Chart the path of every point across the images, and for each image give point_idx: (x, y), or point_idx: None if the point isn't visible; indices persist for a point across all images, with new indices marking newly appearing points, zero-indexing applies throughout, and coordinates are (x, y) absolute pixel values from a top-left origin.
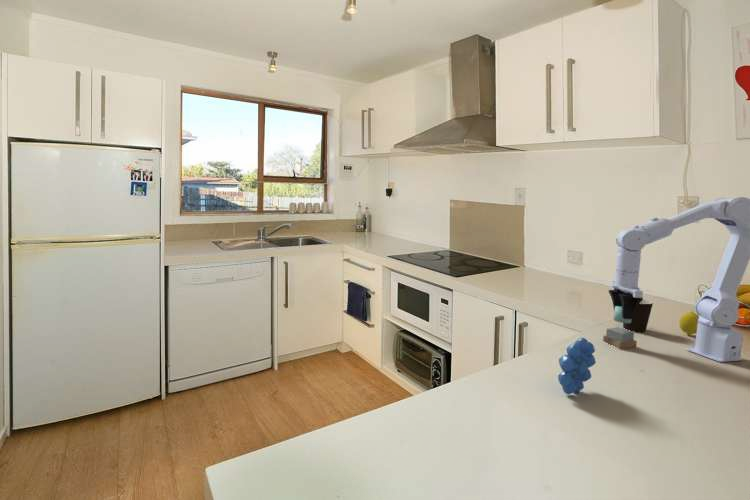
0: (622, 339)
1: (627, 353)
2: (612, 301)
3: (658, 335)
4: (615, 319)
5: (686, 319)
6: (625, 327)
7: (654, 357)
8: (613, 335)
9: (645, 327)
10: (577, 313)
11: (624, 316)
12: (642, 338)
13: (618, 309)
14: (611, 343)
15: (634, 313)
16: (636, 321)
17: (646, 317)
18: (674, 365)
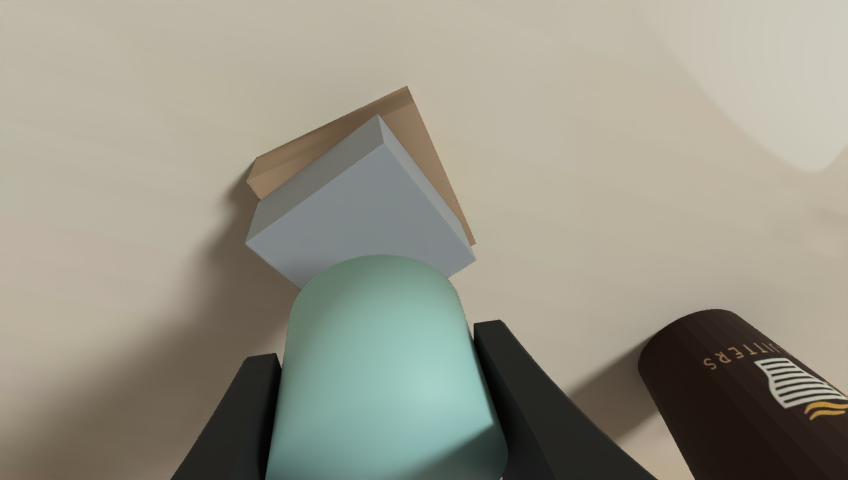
0: (256, 214)
1: (166, 185)
2: (612, 442)
3: (594, 414)
4: (346, 271)
5: None
6: (705, 320)
7: (174, 316)
8: (320, 169)
9: (655, 403)
10: None
11: (235, 385)
12: (538, 347)
13: (311, 407)
14: (324, 131)
15: (728, 436)
16: (684, 397)
17: (686, 460)
18: (72, 366)
